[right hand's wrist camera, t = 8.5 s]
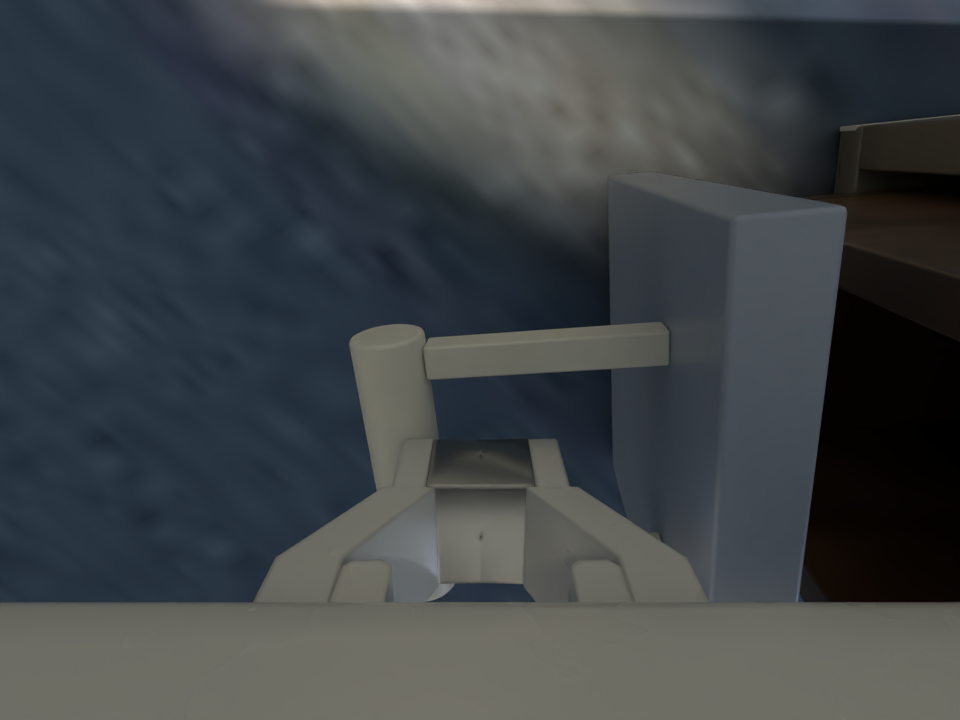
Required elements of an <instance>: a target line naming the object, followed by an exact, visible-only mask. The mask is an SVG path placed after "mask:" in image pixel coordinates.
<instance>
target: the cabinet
mask: <svg viewBox="0 0 960 720" xmlns="http://www.w3.org/2000/svg"><path fill="white" fill-rule="evenodd" d="M840 131H841V136H840V144H839V153H838V161H837V170H836V179H835V187H834V194H842V193H853V192H864V191H875V190H886V189H897V188H908V187H919V186H930V185H942V184H953V183H960V115H950V116H940V117H930V118H921V119H911V120H901V121H891V122H882V123H872V124H862V125H852V126H843V127H840Z"/></svg>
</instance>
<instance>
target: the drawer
mask: <svg viewBox="0 0 960 720" xmlns="http://www.w3.org/2000/svg"><path fill="white" fill-rule="evenodd" d="M608 218H609V274H610V325H607V326H592V327H578V328H563V329H549V330H534V331H520V332H506V333H491V334H477V335H462V336H448V337H433V338H429V339H428V341H427V342H426V340H425V333H424V331H423V329H422V328H420V327H418V326H415V325H409V324H392V325H384V326H378V327H374V328H370V329H367V330H365V331H362V332H360V333H358V334H356V335H354V336H353V337H352V338H351V339H350V343H349V346H350V352H351V357H352V362H353V368H354V373H355V378H356V384H357V389H358V394H359V399H360V405H361V410H362V415H363V421H364V426H365V431H366V437H367V442H368V447H369V452H370V458H371V463H372V468H373V474H374V479H375V484H376V490H377V491H378V490H380V489H381V488H383V487H392V483H393V479H394V476H395V472H396V468H397V464H398V461H399V457H400V453H401V449H402V446H403V442H404V441H405V440H406V439H427V438H432V439H433V440H434V439H439V434H438V426H437V419H436V412H435V405H434V397H433V390H432V383H431V380H436V379H453V378H469V377H486V376H502V375H518V374H535V373H551V372H568V371H584V370H600V369H611V386H612V442H613V469H614V472H615V476H616V480H617V483H618V487H619V491H620V494H621V498H622V502H623V505H624V509H625V513H626V516H627V519H628V520H629V521H631V522H632V523H634V524H635V525H637V526H639V527H640V528H642V529H643V530H645V531H646V532H648V533H649V534H651V535H652V536H654V537H655V538H657V539H658V540H660V541H661V542H663V543H665V544H666V545H668V546H669V547H671V548H672V549H674V550H675V551H677V552H678V553H680V554H681V555H683V556H684V557H686V558H687V559H688V561H689V563H690V565H691V567H692V569H693V571H694V573H695V575H696V577H697V579H698V581H699V583H700V585H701V587H702V589H703V591H704V593H705V595H706V597H707V598H708V600H709V602H798V601H799V594H800V595H801V597H802V599H803V600H804V602H960V183H953V184H942V185H930V186H919V187H908V188H897V189H886V190H875V191H864V192H853V193H842V194H831V195H820V196H809V197H798V198H797V197H791V196H786V195H780V194H775V193H769V192H763V191H758V190H752V189H747V188H741V187H736V186H730V185H724V184H719V183H713V182H708V181H702V180H696V179H691V178H685V177H680V176H674V175H668V174H663V173H657V172H652V171H649V172H638V173H628V174H618V175H610V176H609V177H608ZM454 584H455V583H453V584H438V588H437V589H436V590H435V591H434V593H433V594H432V595H431V596H430V598H429V599H428V600H427V601H431V600H435V599H437V598H439V597H442V596H443V595H445V594H446V593H447V592H449V591H450V590H451V588H452V587H453V586H454Z"/></svg>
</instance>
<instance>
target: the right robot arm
mask: <svg viewBox="0 0 960 720" xmlns="http://www.w3.org/2000/svg"><path fill="white" fill-rule="evenodd" d="M453 583H507V584H523V587H524V588H525V589H526V590H527V592H528V593H529V594H530V595H531V597H532V598H533V599H534V600H535V601H536V602H426V601H427V600H428V599H429V598H430V596H431V595H432V594H433V593H434V591H435V590H436V589H437V588H438V584H453ZM0 720H960V602H709V600H708V598H707V597H706V595H705V593H704V591H703V589H702V587H701V585H700V583H699V581H698V579H697V577H696V575H695V573H694V571H693V569H692V567H691V565H690V563H689V561H688V559H687V558H686V557H684V556H683V555H681V554H680V553H678V552H677V551H675V550H674V549H672V548H671V547H669V546H668V545H666V544H665V543H663V542H661V541H660V540H658V539H657V538H655V537H654V536H652V535H651V534H649V533H648V532H646V531H645V530H643V529H642V528H640V527H639V526H637V525H635V524H634V523H632V522H631V521H629V520H628V519H626V518H625V517H623V516H622V515H620V514H619V513H617V512H616V511H614V510H613V509H611V508H609V507H608V506H606V505H605V504H603V503H602V502H600V501H599V500H597V499H596V498H594V497H593V496H591V495H590V494H588V493H587V492H585V491H583V490H582V489H580V488H579V487H570V485H569V481H568V478H567V474H566V470H565V467H564V463H563V460H562V456H561V452H560V449H559V445H558V441H557V440H556V439H555V438H550V439H528V440H527V439H499V440H459V439H434V440H433V439H432V438H427V439H406V440H405V441H404V442H403V446H402V449H401V453H400V457H399V461H398V464H397V468H396V472H395V476H394V479H393V483H392V487H383V488H381V489H380V490H378V491H377V492H375V493H373V494H372V495H370V496H369V497H367V498H366V499H364V500H363V501H361V502H360V503H358V504H357V505H355V506H354V507H352V508H350V509H349V510H347V511H346V512H344V513H343V514H341V515H340V516H338V517H337V518H335V519H334V520H332V521H331V522H329V523H328V524H326V525H324V526H323V527H321V528H320V529H318V530H317V531H315V532H314V533H312V534H311V535H309V536H308V537H306V538H305V539H303V540H302V541H300V542H298V543H297V544H295V545H294V546H292V547H291V548H289V549H288V550H286V551H285V552H283V553H282V554H280V555H279V556H277V557H276V558H275V560H274V562H273V564H272V565H271V567H270V569H269V571H268V573H267V575H266V577H265V579H264V581H263V583H262V585H261V587H260V589H259V591H258V593H257V595H256V597H255V599H254V601H253V602H0Z"/></svg>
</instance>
